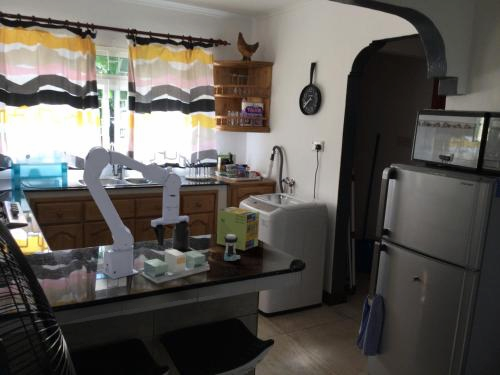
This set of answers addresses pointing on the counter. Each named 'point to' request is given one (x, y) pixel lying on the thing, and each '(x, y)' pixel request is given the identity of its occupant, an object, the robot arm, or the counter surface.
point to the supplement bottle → (184, 243)
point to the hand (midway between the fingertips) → (169, 243)
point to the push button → (230, 247)
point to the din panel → (161, 273)
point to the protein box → (238, 227)
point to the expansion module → (175, 260)
